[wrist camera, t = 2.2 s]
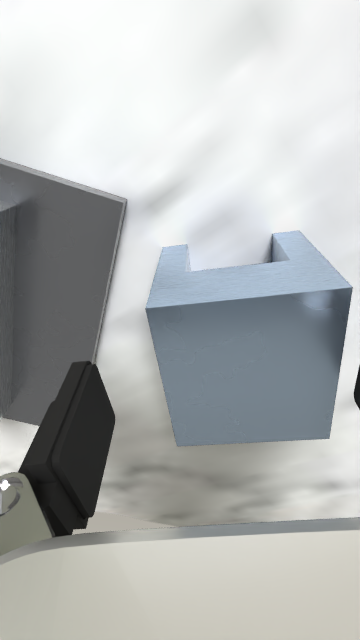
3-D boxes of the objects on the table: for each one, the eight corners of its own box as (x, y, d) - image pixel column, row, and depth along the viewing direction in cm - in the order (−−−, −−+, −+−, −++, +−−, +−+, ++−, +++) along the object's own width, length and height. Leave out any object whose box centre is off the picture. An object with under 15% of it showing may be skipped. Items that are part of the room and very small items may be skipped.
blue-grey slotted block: (298, 230, 15) (352, 287, 10) (292, 356, 18) (328, 444, 13) (162, 247, 15) (145, 308, 10) (183, 365, 19) (178, 452, 14)
